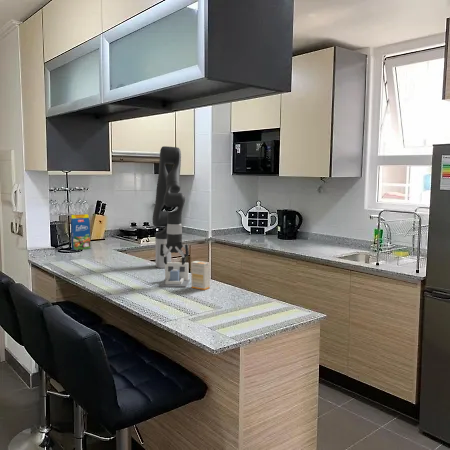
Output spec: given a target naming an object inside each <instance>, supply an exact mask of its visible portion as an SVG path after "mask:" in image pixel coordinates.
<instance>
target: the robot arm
mask: <svg viewBox="0 0 450 450" xmlns="http://www.w3.org/2000/svg"><path fill="white" fill-rule="evenodd" d="M158 161H159V163H158V164H159V165H158V177H157V182H156V190H155V201H154V202H155V203H154V206H153V207H154V208H153V212H152V213H153V214H152V226H154V227H155V228H163V229H162V230H160V231H158V232H156V233H155V235H154V237H155V239H154V240H155V241H154V242H155V267H156V268H158V269H165V264H167V262H172V253H174V254H178V253H179V255H180V256H181V263H182V265H184V263H186V257H188V256H189V255H190V253H189V244H188V243H185V244H183V225H182V224H183V223H182V216H183V210H184V206H185V203H186V197H185V195H184V193H182V192H180V191H181V177H180V176H181V163H182V162H181V161H182V152H181V148H179V147H177V146H167V145H166V146H165V145H164V146H162V147H160V151H159V159H158ZM166 165H174V166H173V168H171V170H170V171H169V172H168V170H167V167H166ZM164 206H166V207H167V208H177V209H176V210H174V211H173V210H172V211H169V210H163V211H162V209H163V208H164ZM182 249H184V250H185V253H184V251H183V250H182Z"/></svg>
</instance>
